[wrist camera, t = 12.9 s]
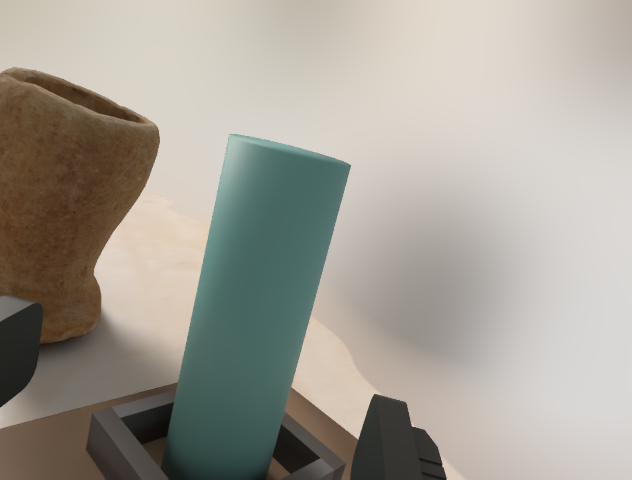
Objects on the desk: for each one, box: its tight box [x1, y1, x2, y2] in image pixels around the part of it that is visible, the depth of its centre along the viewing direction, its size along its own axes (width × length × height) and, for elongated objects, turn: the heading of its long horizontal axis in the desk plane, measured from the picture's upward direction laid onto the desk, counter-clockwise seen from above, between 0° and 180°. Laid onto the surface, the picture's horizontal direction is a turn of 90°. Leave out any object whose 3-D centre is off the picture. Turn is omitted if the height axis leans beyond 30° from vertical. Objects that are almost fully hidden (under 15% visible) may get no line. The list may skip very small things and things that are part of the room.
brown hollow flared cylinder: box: [0, 67, 160, 343], centre depth 31 cm, size 15×12×15 cm
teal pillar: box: [160, 134, 351, 480], centre depth 19 cm, size 4×4×14 cm
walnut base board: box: [0, 383, 358, 480], centre depth 20 cm, size 16×13×3 cm
